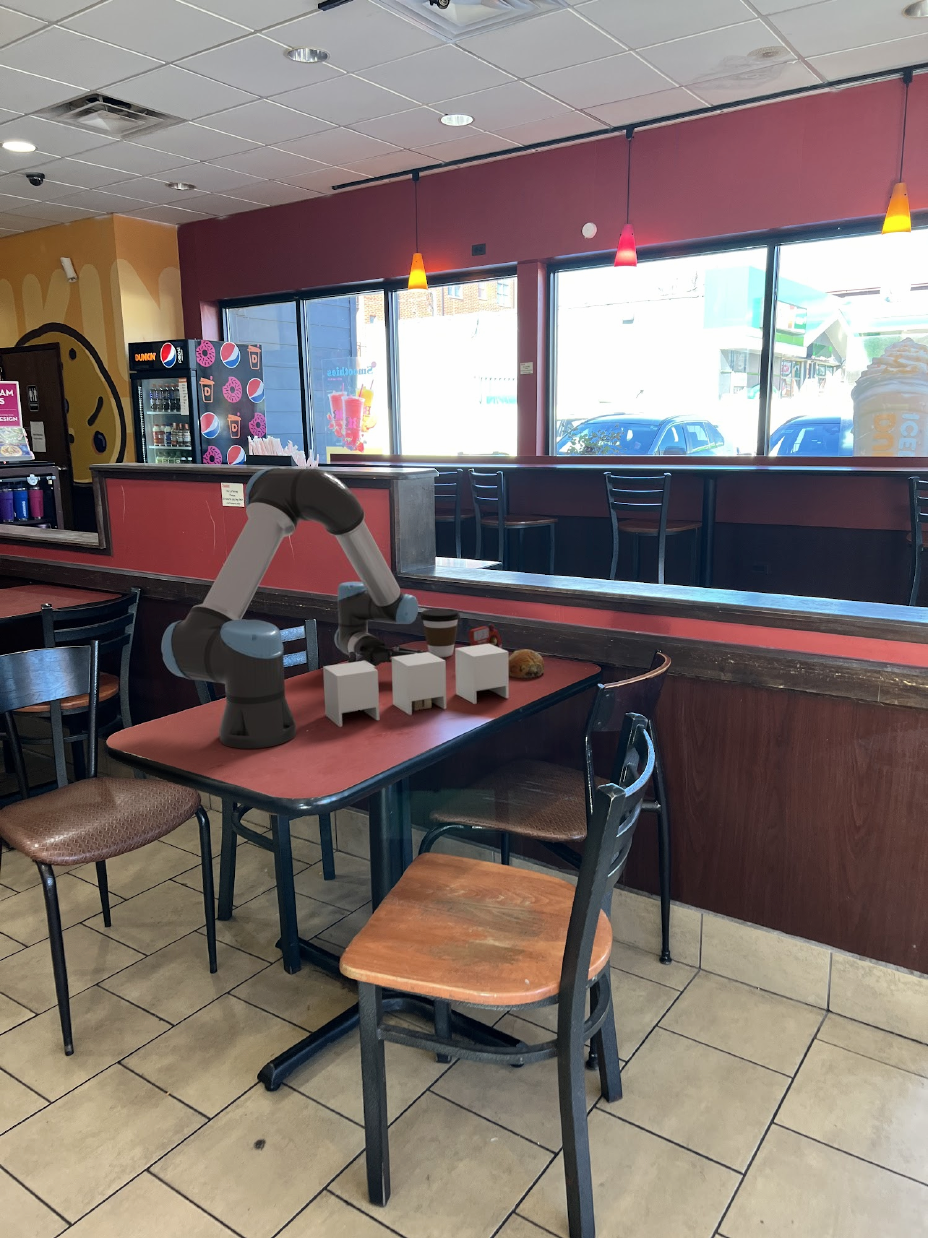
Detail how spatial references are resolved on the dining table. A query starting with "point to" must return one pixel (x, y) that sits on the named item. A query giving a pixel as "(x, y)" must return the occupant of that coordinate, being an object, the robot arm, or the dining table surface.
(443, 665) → the tall off-white cuboid
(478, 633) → the toy fire truck
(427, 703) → the letter cube
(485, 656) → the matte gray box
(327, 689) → the matte white cube
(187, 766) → the dining table surface
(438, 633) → the coffee cup
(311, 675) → the dining table surface
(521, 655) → the bread roll
